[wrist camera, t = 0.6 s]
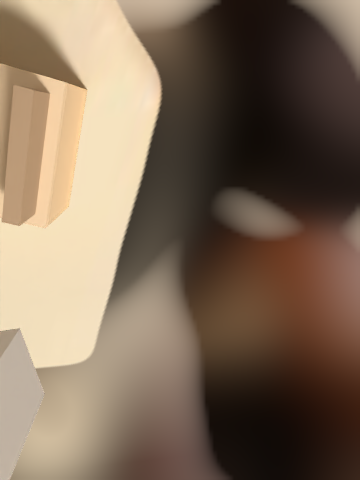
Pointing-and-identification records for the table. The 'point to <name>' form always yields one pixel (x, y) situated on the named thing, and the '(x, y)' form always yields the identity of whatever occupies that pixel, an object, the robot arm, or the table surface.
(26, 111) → the lid
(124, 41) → the table surface
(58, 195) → the box
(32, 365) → the robot arm
